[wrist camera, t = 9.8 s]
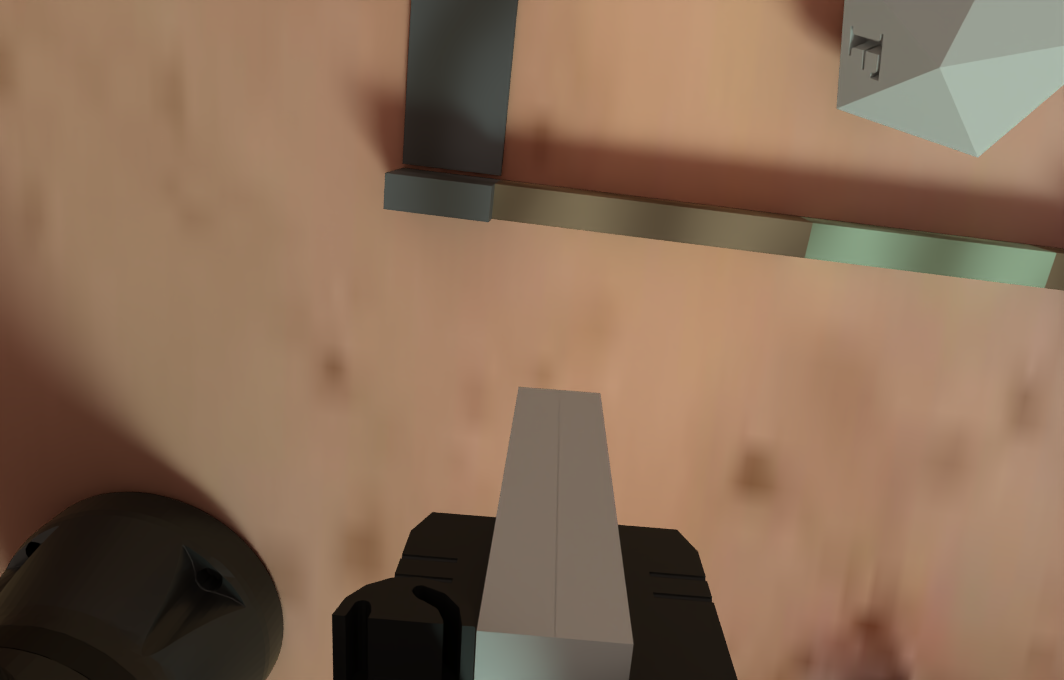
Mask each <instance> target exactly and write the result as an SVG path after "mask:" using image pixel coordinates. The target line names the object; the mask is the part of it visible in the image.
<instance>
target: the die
mask: <svg viewBox="0 0 1064 680" xmlns="http://www.w3.org/2000/svg"><path fill="white" fill-rule="evenodd" d="M1063 85H1064V0H845V1H844V15H843V28H842V41H841V55H840V68H839V82H838V95H837V109H839V110H842V111H845V112H848V113H851V114H854V115H856V116H859V117H862V118H865V119H868V120H871V121H874V122H877V123H880V124H882V125H885V126H888V127H891V128H894V129H897V130H900V131H903V132H906V133H909V134H911V135H914V136H917V137H920V138H923V139H926V140H929V141H932V142H935V143H937V144H940V145H943V146H946V147H949V148H952V149H955V150H958V151H961V152H964V153H966V154H969V155H972V156H975V157H979V156H980V155H981V154H983V153H984V152H985V151H986V150H987V149H988V148H990V147H991V146H992V145H993V144H994V143H995V142H997V141H998V140H999V139H1000V138H1001V137H1003V136H1004V135H1005V134H1006V133H1007V132H1008V131H1010V130H1011V129H1012V128H1013V127H1014V126H1016V125H1017V124H1018V123H1019V122H1020V121H1021V120H1023V119H1024V118H1025V117H1026V116H1027V115H1029V114H1030V113H1031V112H1032V111H1033V110H1034V109H1036V108H1037V107H1038V106H1039V105H1040V104H1041V103H1043V102H1044V101H1045V100H1046V99H1047V98H1049V97H1050V96H1051V95H1052V94H1053V93H1054V92H1056V91H1057V90H1058V89H1059V88H1060V87H1062V86H1063Z"/></svg>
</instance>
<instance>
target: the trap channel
mask: <svg viewBox="0 0 1064 680" xmlns="http://www.w3.org/2000/svg"><path fill="white" fill-rule="evenodd" d="M517 6H518V0H411V16H410V35H409V54H408V72H407V91H406V109H405V128H404V146H403V164H410V165H419V166H427V167H435V168H443V169H451V170H459V171H468V172H476V173H484V174H492V175H500V176H501V172H502V161H503V151H504V141H505V130H506V120H507V109H508V99H509V89H510V78H511V68H512V58H513V47H514V37H515V27H516V16H517ZM384 209H388V210H396V211H404V212H412V213H420V214H428V215H436V216H444V217H452V218H460V219H468V220H476V221H484V222H489V221H490V220H491V219H498V220H506V221H514V222H522V223H529V224H537V225H545V226H553V227H561V228H569V229H577V230H585V231H593V232H601V233H609V234H617V235H625V236H633V237H641V238H649V239H657V240H665V241H673V242H681V243H689V244H697V245H705V246H713V247H721V248H729V249H737V250H745V251H753V252H761V253H769V254H777V255H785V256H793V257H801V258H809V259H817V260H825V261H833V262H841V263H849V264H857V265H865V266H873V267H881V268H889V269H897V270H905V271H913V272H921V273H929V274H937V275H945V276H953V277H960V278H968V279H976V280H984V281H992V282H1000V283H1008V284H1016V285H1024V286H1032V287H1040V288H1048V289H1056V290H1064V249H1061V248H1053V247H1045V246H1037V245H1029V244H1021V243H1012V242H1004V241H996V240H988V239H980V238H972V237H964V236H955V235H947V234H939V233H931V232H923V231H915V230H907V229H898V228H890V227H882V226H874V225H866V224H858V223H850V222H841V221H833V220H825V219H817V218H809V217H801V216H793V215H784V214H776V213H768V212H760V211H752V210H744V209H736V208H727V207H719V206H711V205H703V204H695V203H687V202H679V201H670V200H662V199H654V198H646V197H638V196H630V195H622V194H613V193H605V192H597V191H589V190H581V189H573V188H565V187H556V186H548V185H540V184H532V183H524V182H516V181H508V180H499V179H491V178H483V177H475V176H467V175H459V174H451V173H442V172H434V171H426V170H418V169H410V168H401V169H397V170H394V171H390V172H387V173H385V189H384Z"/></svg>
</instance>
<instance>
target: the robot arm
mask: <svg viewBox="0 0 1064 680" xmlns="http://www.w3.org/2000/svg"><path fill="white" fill-rule="evenodd" d="M332 635H333V680H737V676H736V673H735V670H734V667H733V663H732V660H731V657H730V654H729V651H728V647H727V644H726V641H725V638H724V634H723V631H722V628H721V625H720V622H719V618H718V615H717V612H716V609H715V605H714V603H713V602H712V596H711V593H710V589H709V586H708V583H707V581H705V573H704V570H703V567H702V564H701V560H700V557H699V554H698V551H697V550H696V549H695V548H694V547H693V546H692V545H691V544H690V543H689V542H688V541H687V540H686V539H685V538H684V537H683V536H682V535H681V534H680V532H679V531H678V530H674V529H662V528H650V527H638V526H625V525H618V523H617V516H616V508H615V501H614V493H613V485H612V478H611V470H610V463H609V455H608V448H607V440H606V432H605V425H604V417H603V410H602V402H601V395H600V393H591V392H578V391H566V390H553V389H540V388H527V387H519V388H518V394H517V400H516V406H515V412H514V417H513V423H512V429H511V435H510V441H509V446H508V452H507V458H506V464H505V469H504V475H503V481H502V487H501V493H500V498H499V504H498V510H497V516H496V517H485V516H472V515H460V514H448V513H436V512H432V513H431V514H430V515H429V516H428V517H426V518H425V519H424V520H423V521H422V522H421V523H419V524H418V525H417V526H416V527H415V528H414V529H412V530H411V532H410V535H409V537H408V540H407V543H406V545H405V548H404V551H403V553H402V559H400V561H399V564H398V567H397V569H396V572H395V578H389V579H385V580H382V581H378V582H375V583H371V584H368V585H365V586H364V587H362V588H361V589H359V590H357V591H356V592H354V593H352V594H351V595H349V596H347V597H346V598H345V599H344V600H343V602H342V603H341V604H340V605H339V607H338V608H337V609H336V610H335V612H334V613H333V614H332ZM282 639H283V615H282V609H281V604H280V600H279V597H278V594H277V591H276V589H275V586H274V584H273V582H272V580H271V578H270V576H269V574H268V572H267V571H266V569H265V567H264V566H263V564H262V563H261V561H260V560H259V559H258V557H257V556H256V555H255V553H254V552H253V551H252V550H251V549H250V548H249V547H248V545H247V544H246V543H245V542H244V541H243V540H242V539H241V538H239V537H238V536H237V535H236V534H235V533H234V532H233V531H231V530H230V529H229V528H228V527H226V526H225V525H224V524H222V523H221V522H219V521H218V520H216V519H215V518H213V517H211V516H210V515H208V514H206V513H205V512H203V511H201V510H199V509H197V508H195V507H192V506H190V505H188V504H185V503H183V502H180V501H177V500H174V499H171V498H167V497H163V496H159V495H154V494H148V493H138V492H118V493H109V494H103V495H98V496H95V497H91V498H88V499H85V500H83V501H80V502H78V503H76V504H74V505H72V506H71V507H69V508H67V509H66V510H64V511H63V512H61V513H60V514H59V515H57V516H56V517H55V518H53V519H52V520H51V521H50V522H48V523H47V524H46V525H44V526H43V527H42V528H40V529H39V530H38V531H36V532H35V533H34V534H33V535H32V536H31V537H30V538H29V539H28V540H27V541H26V542H25V543H24V544H23V545H22V546H21V547H20V548H19V550H18V551H17V552H16V554H15V555H14V557H13V558H12V560H11V561H10V563H9V564H8V567H7V569H6V570H5V572H4V573H3V574H2V576H1V577H0V680H266V679H267V677H268V676H269V674H270V672H271V670H272V669H273V667H274V665H275V663H276V661H277V659H278V656H279V653H280V649H281V645H282Z"/></svg>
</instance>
